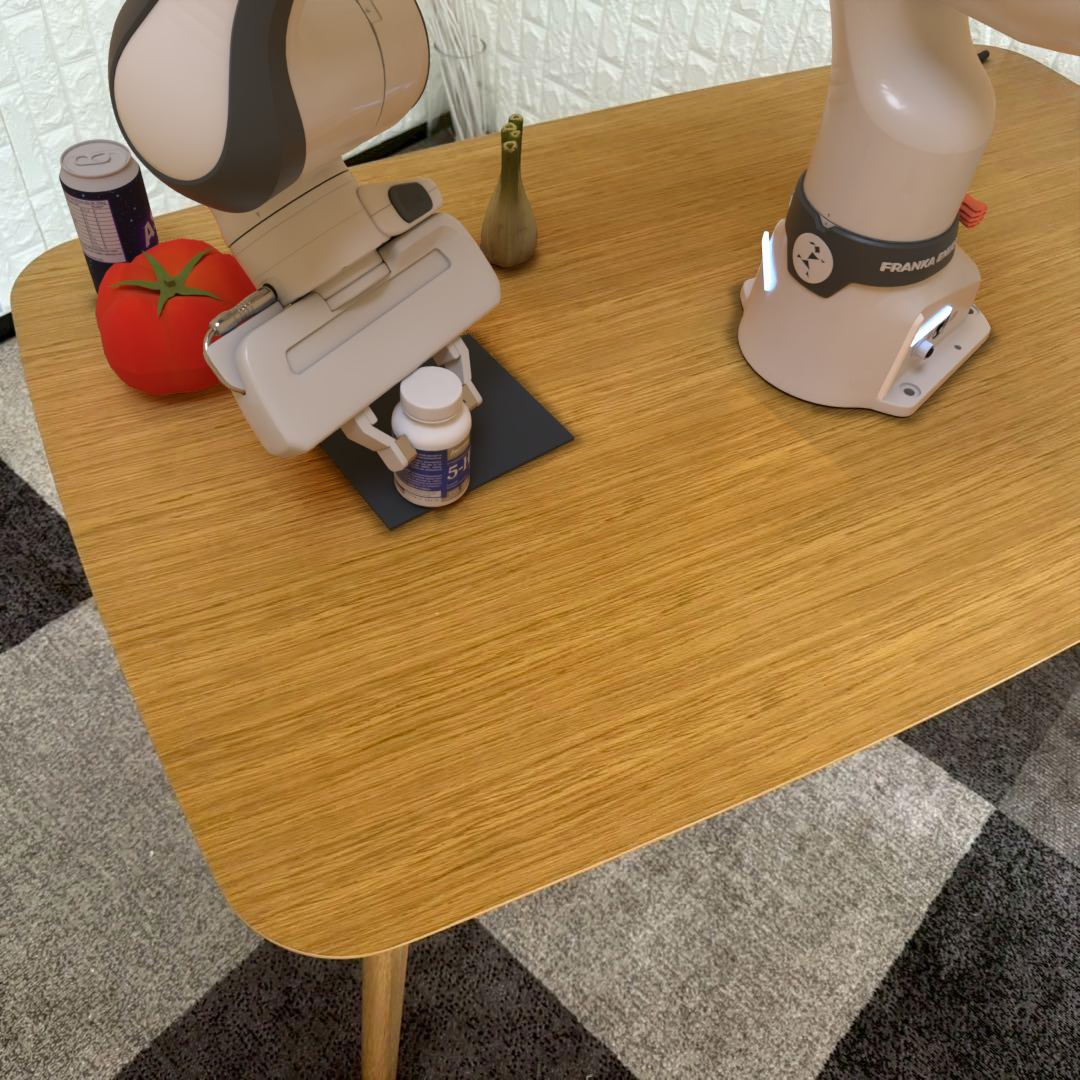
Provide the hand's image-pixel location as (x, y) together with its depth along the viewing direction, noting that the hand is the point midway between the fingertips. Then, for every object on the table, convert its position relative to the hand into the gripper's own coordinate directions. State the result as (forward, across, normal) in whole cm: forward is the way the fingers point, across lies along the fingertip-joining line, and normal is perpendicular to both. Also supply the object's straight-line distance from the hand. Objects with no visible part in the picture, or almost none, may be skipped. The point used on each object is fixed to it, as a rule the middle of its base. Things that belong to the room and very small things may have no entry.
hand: (439, 436), depth 68 cm
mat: (+1, +5, +7) cm, 9 cm away
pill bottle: (+3, 0, +4) cm, 5 cm away
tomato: (-12, -2, +21) cm, 24 cm away
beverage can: (-19, +1, +27) cm, 34 cm away
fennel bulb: (-5, +25, +13) cm, 29 cm away
